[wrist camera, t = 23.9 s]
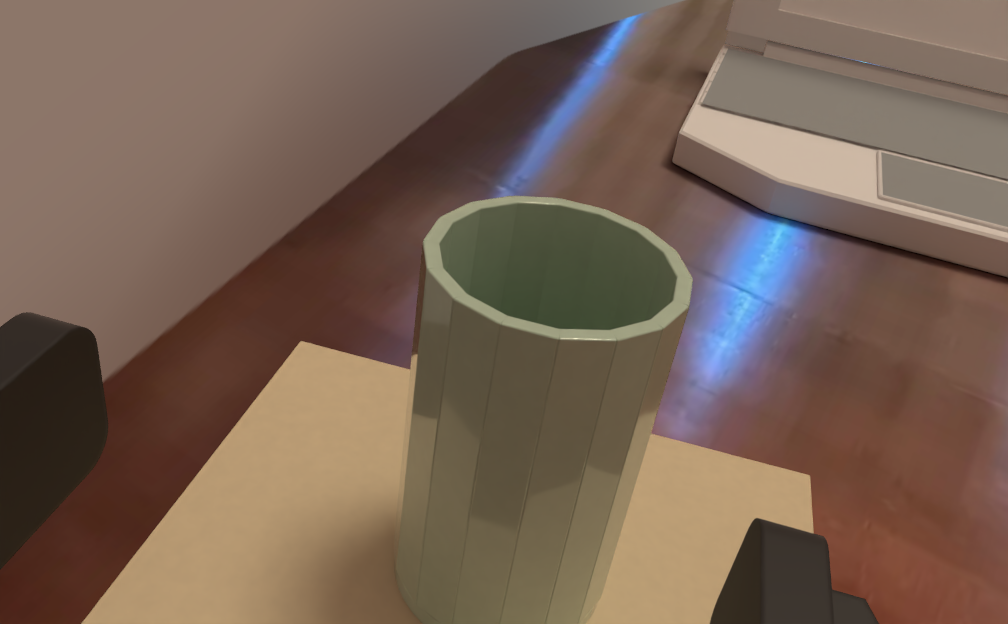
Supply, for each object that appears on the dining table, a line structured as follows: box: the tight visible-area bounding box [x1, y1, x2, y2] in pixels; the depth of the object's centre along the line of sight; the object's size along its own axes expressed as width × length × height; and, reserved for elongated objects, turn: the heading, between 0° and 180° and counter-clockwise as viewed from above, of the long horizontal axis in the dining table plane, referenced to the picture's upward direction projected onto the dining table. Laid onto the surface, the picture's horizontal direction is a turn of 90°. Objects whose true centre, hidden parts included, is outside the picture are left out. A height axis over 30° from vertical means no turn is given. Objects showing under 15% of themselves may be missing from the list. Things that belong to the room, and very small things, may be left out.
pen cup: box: [394, 196, 693, 624], centre depth 24 cm, size 6×6×11 cm
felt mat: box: [81, 341, 814, 624], centre depth 28 cm, size 20×16×1 cm
